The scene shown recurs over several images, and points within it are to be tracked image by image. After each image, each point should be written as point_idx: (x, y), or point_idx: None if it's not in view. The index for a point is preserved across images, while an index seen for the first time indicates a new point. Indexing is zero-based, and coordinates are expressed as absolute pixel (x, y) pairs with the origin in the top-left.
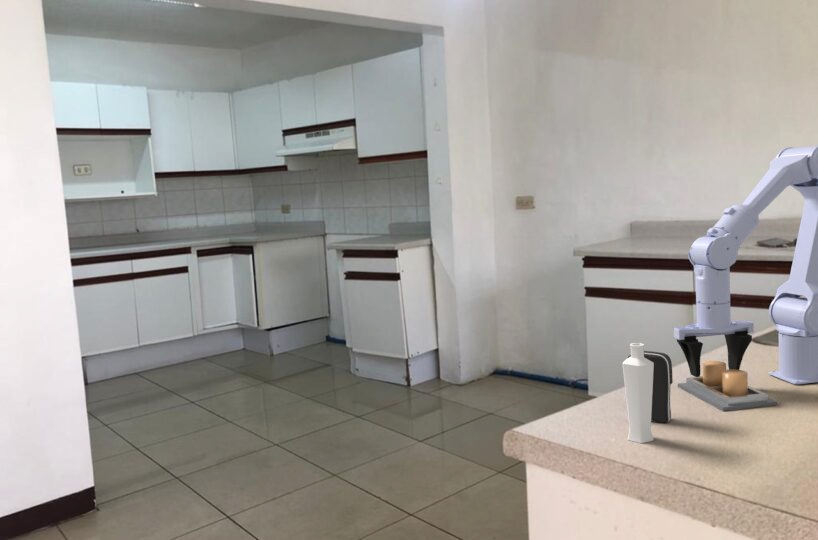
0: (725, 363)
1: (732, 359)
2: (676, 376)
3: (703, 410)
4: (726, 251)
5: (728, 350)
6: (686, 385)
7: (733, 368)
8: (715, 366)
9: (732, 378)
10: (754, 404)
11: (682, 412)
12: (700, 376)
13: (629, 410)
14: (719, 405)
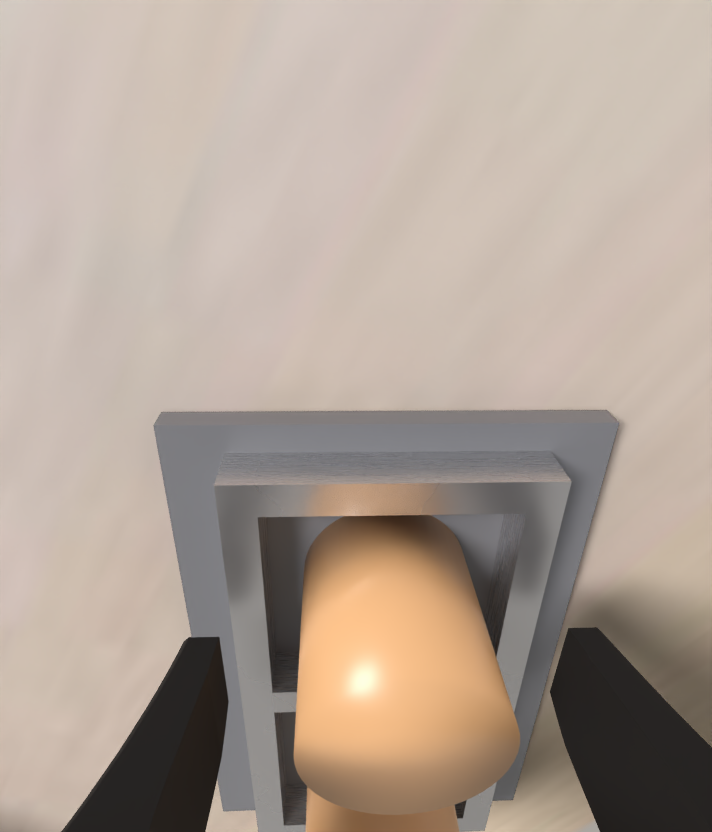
0: (504, 770)
1: (616, 774)
2: (298, 65)
3: None
4: None
5: (694, 825)
6: (206, 486)
7: (568, 705)
8: (359, 808)
9: None
10: None
11: (27, 772)
12: (356, 486)
13: None
14: (224, 791)
